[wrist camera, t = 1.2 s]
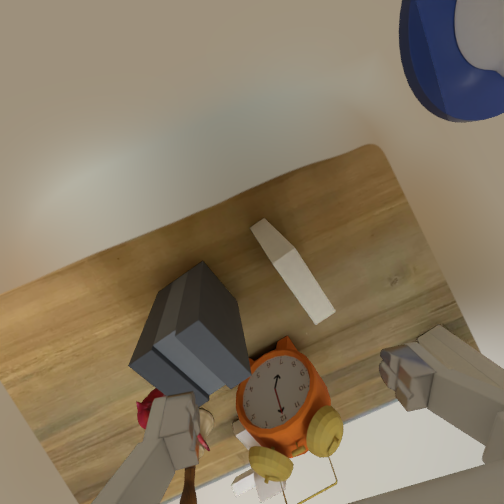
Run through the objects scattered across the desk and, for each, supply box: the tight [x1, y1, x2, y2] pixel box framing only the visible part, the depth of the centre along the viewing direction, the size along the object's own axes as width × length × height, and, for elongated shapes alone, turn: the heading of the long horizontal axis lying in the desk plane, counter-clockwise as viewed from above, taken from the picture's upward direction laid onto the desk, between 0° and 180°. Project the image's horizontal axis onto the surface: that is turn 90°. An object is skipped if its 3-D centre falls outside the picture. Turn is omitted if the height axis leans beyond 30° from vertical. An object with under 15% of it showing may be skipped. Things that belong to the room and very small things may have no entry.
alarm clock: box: [236, 336, 343, 504], centre depth 35 cm, size 13×6×20 cm, turn 119°
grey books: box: [128, 261, 252, 407], centre depth 31 cm, size 8×9×15 cm
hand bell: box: [180, 409, 214, 504], centre depth 40 cm, size 8×8×16 cm
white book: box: [250, 218, 336, 325], centre depth 31 cm, size 3×9×14 cm, turn 34°
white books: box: [417, 325, 504, 390], centre depth 44 cm, size 5×9×15 cm, turn 34°
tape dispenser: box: [231, 420, 286, 503], centre depth 43 cm, size 8×14×14 cm, turn 119°
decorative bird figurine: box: [136, 388, 210, 451], centre depth 39 cm, size 3×18×10 cm, turn 31°
